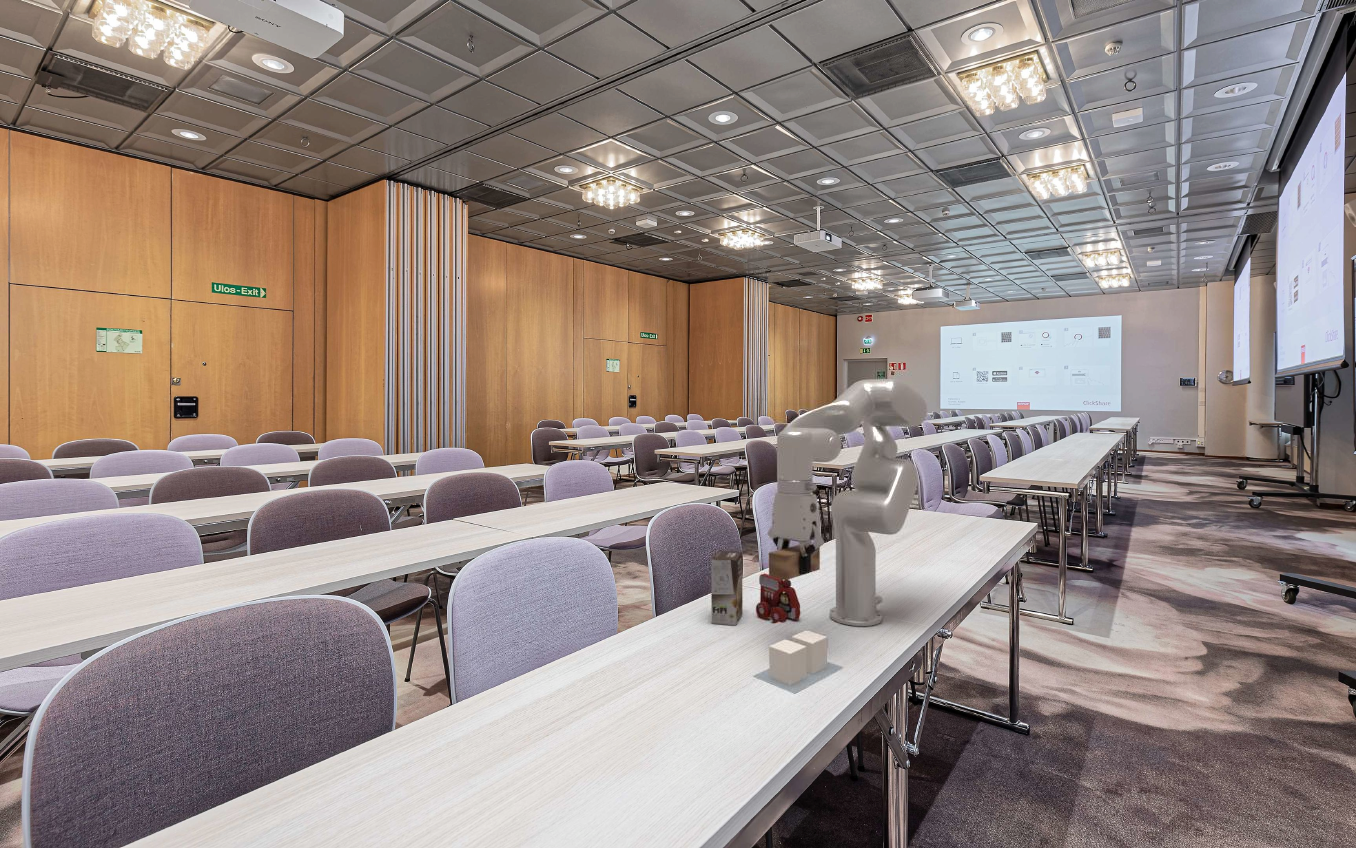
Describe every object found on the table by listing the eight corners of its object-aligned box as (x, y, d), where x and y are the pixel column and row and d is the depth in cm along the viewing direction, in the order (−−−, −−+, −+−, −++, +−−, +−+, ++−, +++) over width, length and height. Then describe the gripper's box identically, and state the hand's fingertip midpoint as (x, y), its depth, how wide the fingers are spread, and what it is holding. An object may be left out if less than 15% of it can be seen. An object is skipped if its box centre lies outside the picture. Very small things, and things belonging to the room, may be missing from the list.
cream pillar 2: (806, 659, 127) (806, 630, 127) (827, 666, 123) (827, 636, 123) (791, 666, 123) (791, 636, 123) (812, 674, 120) (812, 643, 119)
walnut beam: (802, 565, 139) (802, 543, 139) (819, 569, 136) (819, 547, 136) (768, 576, 131) (768, 552, 131) (785, 580, 128) (785, 556, 128)
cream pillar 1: (785, 669, 122) (785, 639, 122) (806, 677, 118) (806, 646, 118) (769, 677, 119) (769, 646, 118) (790, 685, 115) (790, 653, 115)
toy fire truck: (787, 629, 146) (787, 586, 146) (751, 615, 156) (750, 574, 156) (807, 622, 151) (807, 580, 150) (770, 609, 160) (770, 570, 160)
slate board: (802, 657, 130) (802, 652, 130) (843, 672, 123) (843, 667, 123) (752, 681, 119) (752, 676, 119) (795, 699, 112) (795, 693, 112)
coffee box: (736, 626, 149) (736, 560, 148) (710, 624, 150) (710, 558, 150) (743, 613, 157) (742, 551, 157) (718, 611, 159) (718, 549, 159)
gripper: (838, 489, 129) (838, 575, 130) (775, 482, 142) (775, 561, 142) (817, 493, 124) (817, 583, 125) (753, 485, 137) (753, 567, 137)
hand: (794, 570), depth 134 cm, fingers closed on walnut beam, 4 cm apart
